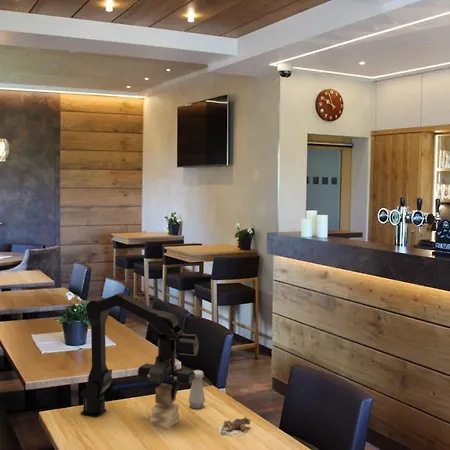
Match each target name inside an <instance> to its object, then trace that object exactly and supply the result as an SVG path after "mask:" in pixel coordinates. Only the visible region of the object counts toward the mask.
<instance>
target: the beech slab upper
mask: <svg viewBox="0 0 450 450" xmlns="http://www.w3.org/2000/svg"><path fill="white" fill-rule="evenodd" d="M179 407H180V405H179V403H177V402H173V403H171V404H170V405H165V404H159V403H155V405H154V406H153V407H152V409H151V416H152V418H158V419H167V420H173V419H174V417H175V416H176V415H177V413H179Z"/></svg>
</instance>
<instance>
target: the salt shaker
mask: <svg viewBox="0 0 450 450" xmlns="http://www.w3.org/2000/svg"><path fill="white" fill-rule="evenodd" d="M193 371H194V373H195V379H194V380H193V381H191V386H190V392H189V395H188V403H189V406H190V407H191V408H192V409H197V410H199V409H202V408H203V406H204V404H205V401H206V398H205V392H204V387H203V385H204V384H203V380H202V379H203V378H204V376H205V375H204V372H203V370H200V369H195V370H193Z"/></svg>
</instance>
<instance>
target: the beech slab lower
mask: <svg viewBox="0 0 450 450" xmlns="http://www.w3.org/2000/svg"><path fill="white" fill-rule="evenodd" d="M179 421H180V413H179V412H178V413H177V415H176V416H175V417H174V419H173V420H167V419H158V418H152V415H151V416H150V426H153V427H159V428H163V429H171V428H172V427H173V426H175V425H176V424H177V423H178V422H179Z"/></svg>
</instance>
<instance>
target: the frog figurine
mask: <svg viewBox="0 0 450 450" xmlns="http://www.w3.org/2000/svg"><path fill="white" fill-rule="evenodd" d="M250 423H251V419H248V417H243V418H236V419H235V420H234V421H231V420H226V419H225V420H224V421H223V424H220V426H219V425H218V426H217V427H216V430H217V431H219V432H218V433H219V434H220V435H221V436H223V437H237V438H239V437H240V435H238V436H235V435H237V434H238V433H239V431H240V432H242V435H241V437H243V436H247V433H248V432H249V430H248V429H246V428H245V427H246V426H247V425H248V426H249V425H250ZM228 433H229V434H228ZM243 433H244V434H243Z"/></svg>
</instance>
